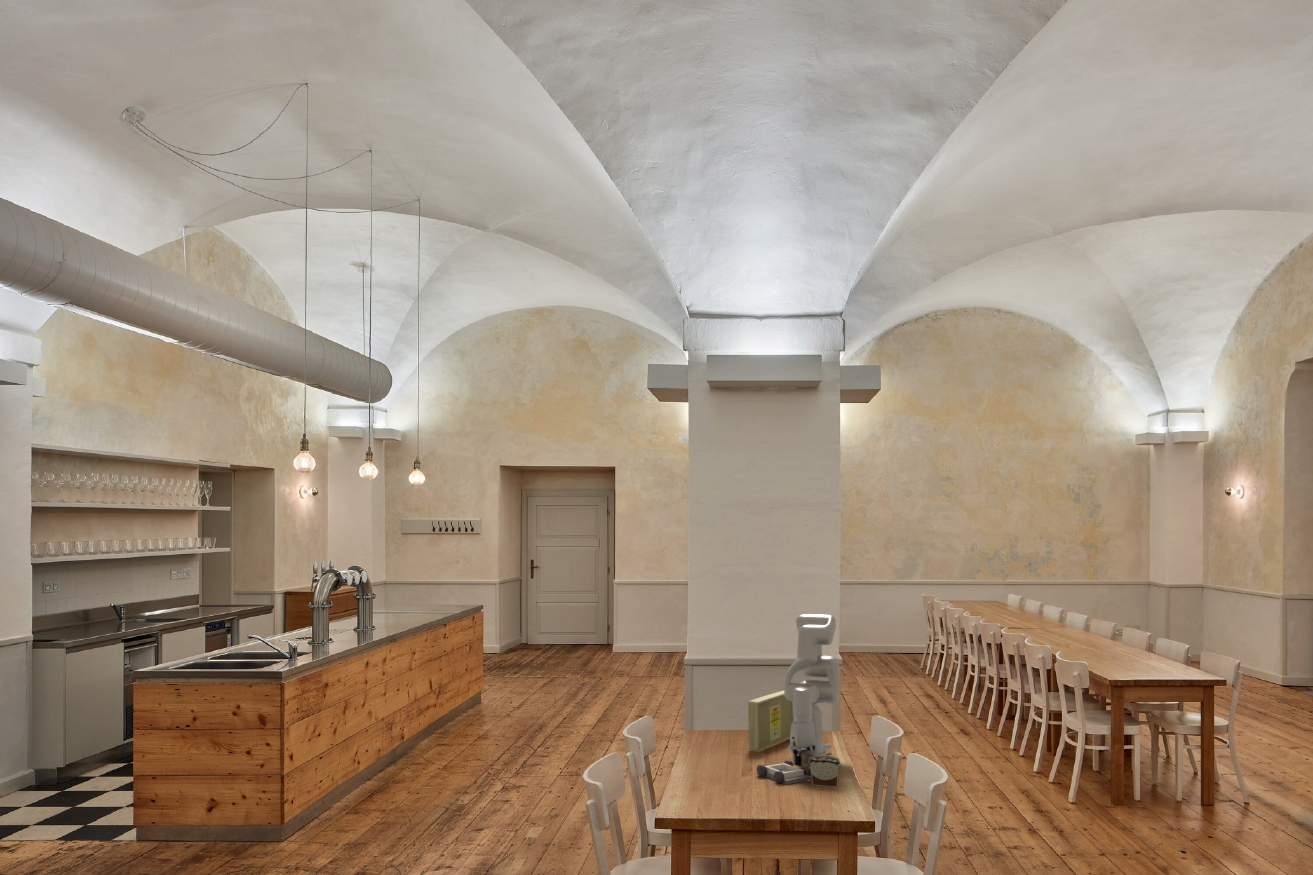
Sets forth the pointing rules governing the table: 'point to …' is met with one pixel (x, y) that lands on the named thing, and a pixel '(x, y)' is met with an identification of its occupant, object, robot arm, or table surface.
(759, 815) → the table surface
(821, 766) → the food container
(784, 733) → the flat product box
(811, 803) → the table surface
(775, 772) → the chassis
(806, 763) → the grey block on wood
